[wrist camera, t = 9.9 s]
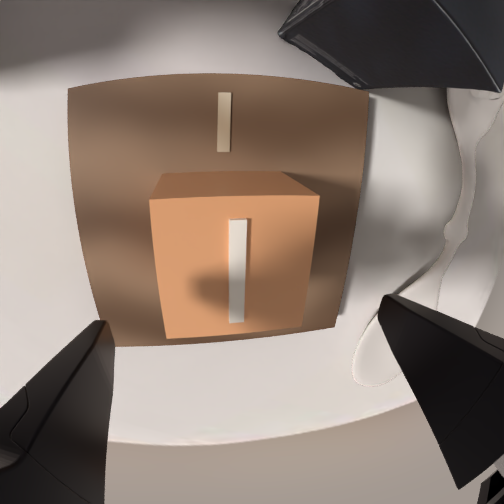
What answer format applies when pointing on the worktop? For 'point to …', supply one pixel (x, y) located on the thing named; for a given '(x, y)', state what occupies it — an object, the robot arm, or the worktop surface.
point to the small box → (404, 41)
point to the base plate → (207, 160)
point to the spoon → (428, 285)
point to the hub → (232, 251)
